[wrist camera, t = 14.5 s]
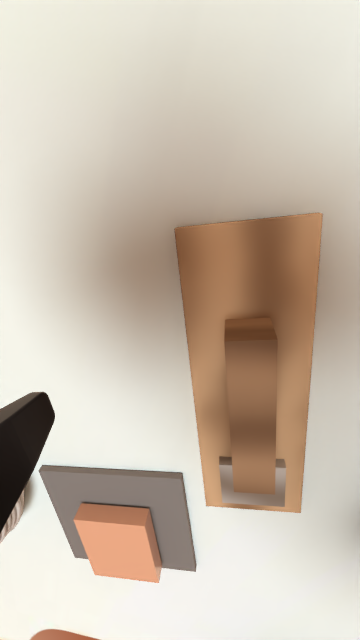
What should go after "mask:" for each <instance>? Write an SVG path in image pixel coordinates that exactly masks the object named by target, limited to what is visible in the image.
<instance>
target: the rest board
mask: <svg viewBox="0 0 360 640" xmlns="http://www.w3.org/2000/svg"><path fill="white" fill-rule="evenodd" d="M322 216H323V214H322V213H311V214H302V215H292V216H282V217H273V218H263V219H253V220H243V221H234V222H224V223H214V224H205V225H195V226H185V227H177V228H175V238H176V247H177V255H178V264H179V273H180V281H181V290H182V299H183V307H184V316H185V325H186V334H187V342H188V351H189V360H190V368H191V377H192V386H193V394H194V403H195V412H196V421H197V429H198V438H199V447H200V455H201V464H202V473H203V481H204V490H205V499H206V506H215V507H228V508H242V509H255V510H268V511H282V512H295V513H301V500H302V486H303V473H304V459H305V446H306V432H307V419H308V405H309V392H310V378H311V365H312V351H313V337H314V324H315V310H316V297H317V283H318V270H319V256H320V243H321V229H322ZM249 318H271V321H272V324H273V327H274V330H275V333H276V336H277V339H278V351H277V412H276V459H284V460H285V465H286V486H285V507H277V506H263V505H249V504H234V503H222V492H221V481H220V470H219V456H222V457H232V455H231V440H230V424H229V408H228V392H227V377H226V361H225V345H224V333H225V320H227V319H249Z"/></svg>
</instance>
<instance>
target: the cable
mask: <svg viewBox="0 0 360 640" xmlns="http://www.w3.org/2000/svg"><path fill="white" fill-rule="evenodd" d="M23 508H24V490H23V492H22V494H21V496H20V498H19V499H18V501H17V503H16V505H15V507H14V509H13V511H12V513H11V515H10V517H9V518H8V520H7V522H6V524H5V526H4V528H3V530H2V532H1V534H0V543H1V542H2V541H3V539H4V537H5V536H6V535H7V534H8V533H9V532H10V531H11V530H13V529H14V528H15V527H16V525H17V524H18V522H19V520H20V517H21V515H22V513H23Z"/></svg>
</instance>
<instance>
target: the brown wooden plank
mask: <svg viewBox="0 0 360 640" xmlns="http://www.w3.org/2000/svg"><path fill="white" fill-rule="evenodd" d="M224 345H225V361H226V377H227V392H228V408H229V424H230V440H231V455H232V457H222V456H219V470H220V481H221V492H222V503H234V504H249V505H263V506H277V507H285V486H286V465H285V460H284V459H276V412H277V351H278V339H277V336H276V333H275V330H274V327H273V324H272V321H271V318H249V319H227V320H225V333H224Z"/></svg>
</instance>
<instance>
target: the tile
mask: <svg viewBox="0 0 360 640" xmlns="http://www.w3.org/2000/svg"><path fill="white" fill-rule="evenodd" d="M73 520H74V523H75V525H76V528H77V530H78V533H79V536H80V538H81V541H82V543H83V546H84V548H85V551H86V553H87V556H88V559H89V561H90V564H91V566H92V569H93V571H94V574H95V575H100V576H108V577H116V578H124V579H131V580H139V581H147V582H155V583H159V579H160V573H161V568H162V562H161V558H160V554H159V549H158V545H157V541H156V536H155V532H154V528H153V523H152V519H151V515H150V510H149V509H147V508H135V507H123V506H110V505H98V504H84V503H81V505H80V507H79V509H78V511H77V513H76V515H75V517H74V519H73Z"/></svg>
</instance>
